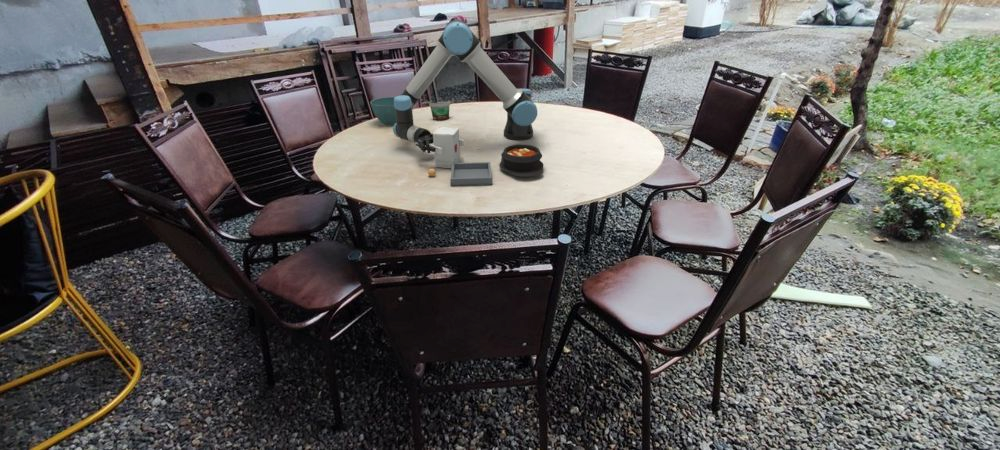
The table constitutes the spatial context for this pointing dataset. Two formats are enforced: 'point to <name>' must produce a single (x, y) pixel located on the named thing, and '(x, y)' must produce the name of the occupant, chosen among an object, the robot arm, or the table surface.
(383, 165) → the table surface
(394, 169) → the table surface
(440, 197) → the table surface
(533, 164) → the casserole
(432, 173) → the ball
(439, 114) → the food container
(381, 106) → the plant pot
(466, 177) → the tray
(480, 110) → the table surface
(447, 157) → the supplement box
